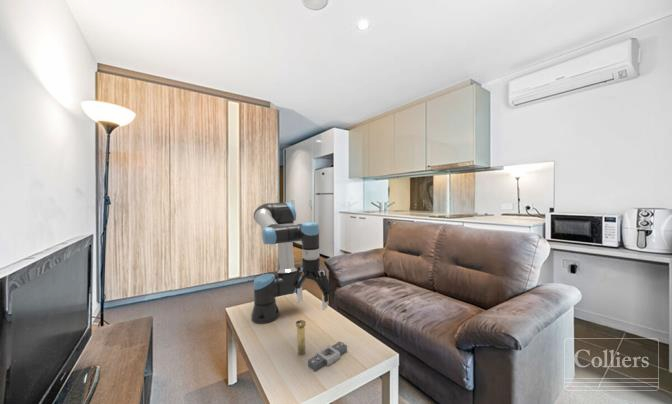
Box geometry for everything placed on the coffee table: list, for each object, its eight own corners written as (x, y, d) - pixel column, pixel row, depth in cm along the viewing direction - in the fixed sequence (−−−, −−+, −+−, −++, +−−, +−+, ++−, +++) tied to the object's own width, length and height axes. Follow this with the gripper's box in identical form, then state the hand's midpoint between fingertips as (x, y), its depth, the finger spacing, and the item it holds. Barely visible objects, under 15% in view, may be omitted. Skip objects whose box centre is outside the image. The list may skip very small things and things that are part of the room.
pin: (294, 352, 112) (294, 322, 111) (302, 348, 115) (301, 319, 114) (300, 357, 109) (299, 326, 108) (308, 352, 112) (307, 322, 111)
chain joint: (317, 373, 99) (316, 366, 99) (306, 364, 105) (305, 357, 104) (349, 352, 112) (349, 346, 111) (337, 345, 117) (337, 339, 117)
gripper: (283, 256, 115) (285, 302, 116) (330, 264, 102) (331, 315, 103) (294, 252, 121) (295, 296, 122) (339, 259, 108) (340, 308, 109)
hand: (312, 305), depth 113 cm, fingers open, 13 cm apart
